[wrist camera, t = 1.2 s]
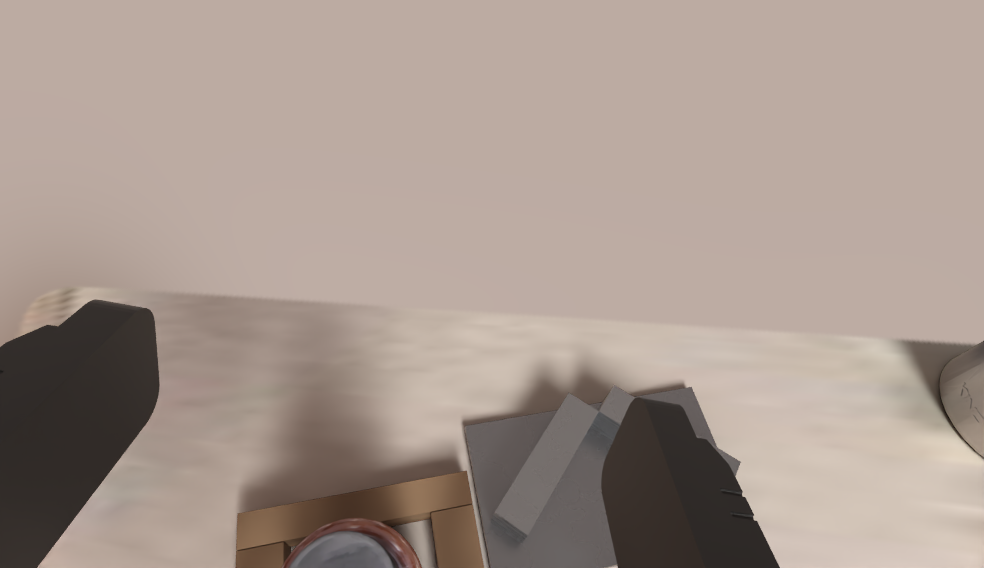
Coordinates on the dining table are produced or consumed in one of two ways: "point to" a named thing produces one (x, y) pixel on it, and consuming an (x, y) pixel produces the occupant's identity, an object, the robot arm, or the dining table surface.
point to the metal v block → (556, 480)
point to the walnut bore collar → (431, 498)
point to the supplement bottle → (353, 547)
